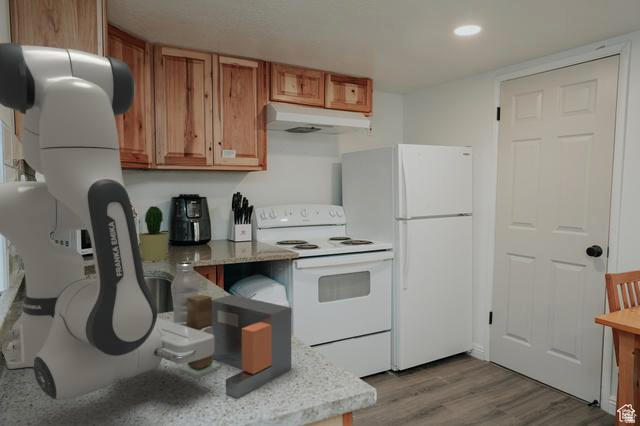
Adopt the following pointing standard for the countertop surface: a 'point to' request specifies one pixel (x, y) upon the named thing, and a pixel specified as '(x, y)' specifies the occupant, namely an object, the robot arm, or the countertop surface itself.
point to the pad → (201, 371)
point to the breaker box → (228, 339)
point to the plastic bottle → (183, 290)
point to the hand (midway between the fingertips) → (203, 327)
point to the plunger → (256, 347)
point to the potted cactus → (154, 237)
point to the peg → (199, 321)
